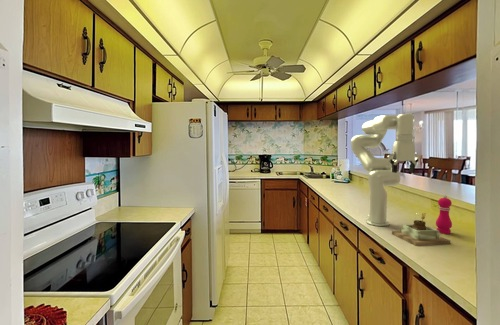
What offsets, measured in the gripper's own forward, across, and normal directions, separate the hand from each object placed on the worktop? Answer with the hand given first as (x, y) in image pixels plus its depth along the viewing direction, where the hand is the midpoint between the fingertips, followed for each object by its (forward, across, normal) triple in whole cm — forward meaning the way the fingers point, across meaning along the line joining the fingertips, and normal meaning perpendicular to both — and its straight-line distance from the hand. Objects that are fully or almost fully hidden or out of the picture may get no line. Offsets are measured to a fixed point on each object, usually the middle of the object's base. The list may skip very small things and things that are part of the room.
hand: (403, 172), depth 152 cm
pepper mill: (+32, -25, -1) cm, 41 cm away
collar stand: (+32, -5, +7) cm, 33 cm away
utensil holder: (+31, -5, +7) cm, 32 cm away
